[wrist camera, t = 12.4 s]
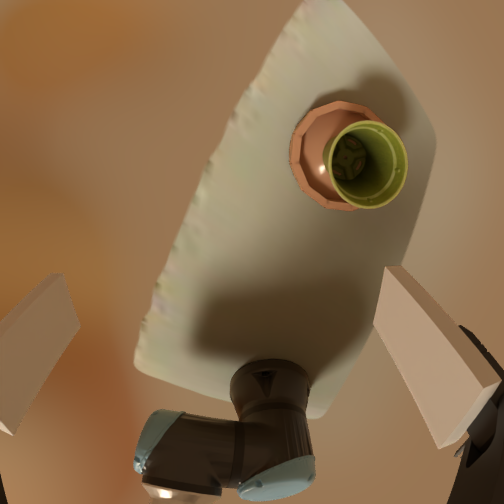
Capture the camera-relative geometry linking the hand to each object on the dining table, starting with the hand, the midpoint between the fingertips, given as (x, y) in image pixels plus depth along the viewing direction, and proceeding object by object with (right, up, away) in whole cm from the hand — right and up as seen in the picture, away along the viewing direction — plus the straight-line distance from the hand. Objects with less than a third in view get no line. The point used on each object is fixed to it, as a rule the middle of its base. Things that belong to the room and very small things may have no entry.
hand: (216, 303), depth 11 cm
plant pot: (+13, +14, +25) cm, 31 cm away
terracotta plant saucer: (+13, +15, +25) cm, 32 cm away
